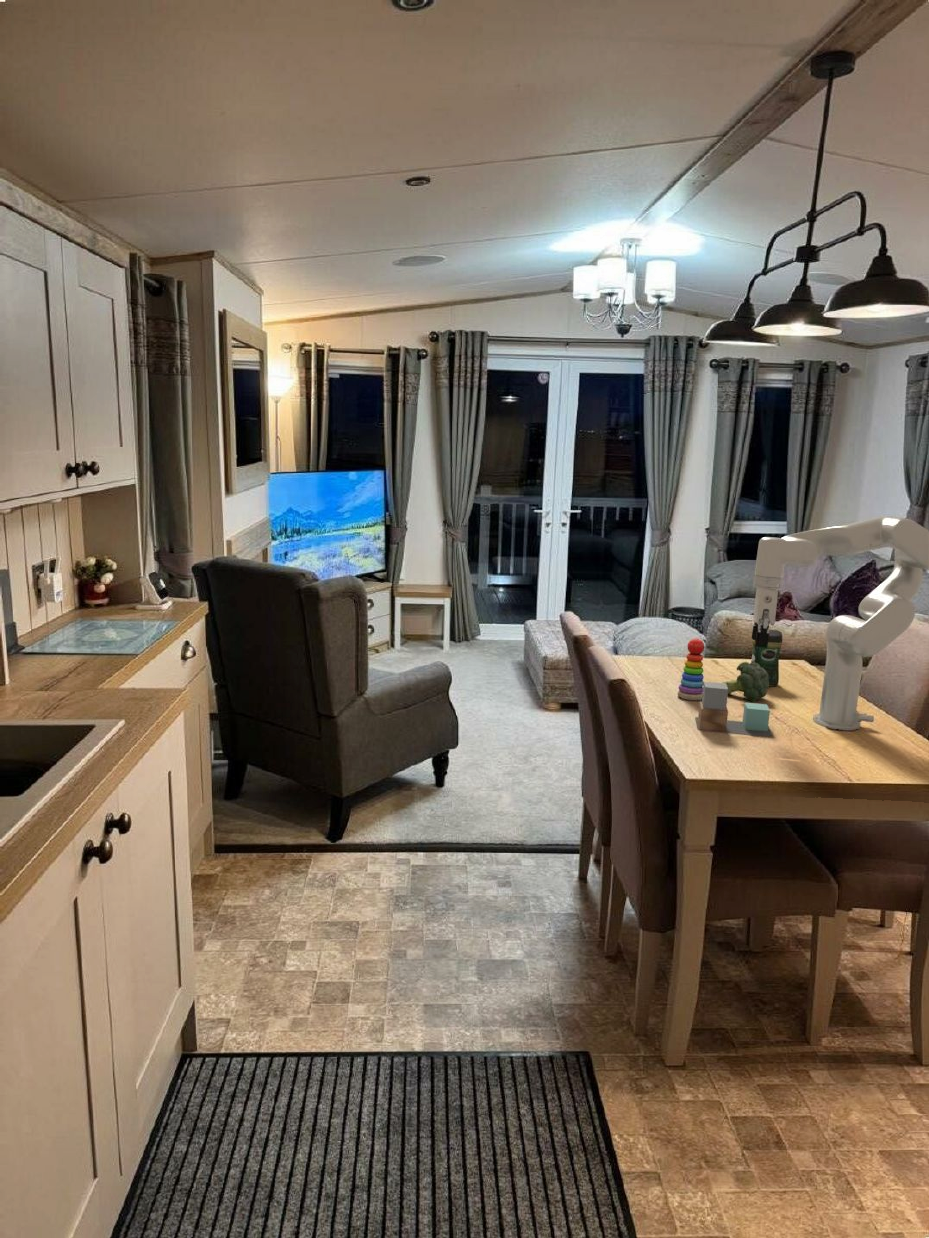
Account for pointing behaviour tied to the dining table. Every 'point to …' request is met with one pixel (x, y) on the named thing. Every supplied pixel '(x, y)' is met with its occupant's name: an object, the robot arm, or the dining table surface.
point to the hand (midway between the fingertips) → (759, 643)
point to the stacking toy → (693, 672)
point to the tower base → (712, 719)
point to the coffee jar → (769, 656)
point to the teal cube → (756, 716)
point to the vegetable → (750, 681)
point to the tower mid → (714, 696)
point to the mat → (741, 729)
